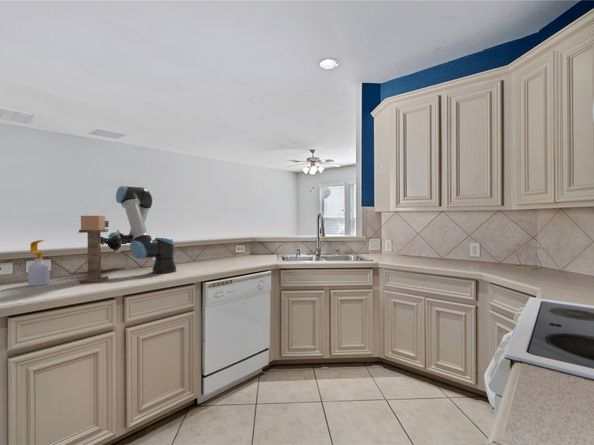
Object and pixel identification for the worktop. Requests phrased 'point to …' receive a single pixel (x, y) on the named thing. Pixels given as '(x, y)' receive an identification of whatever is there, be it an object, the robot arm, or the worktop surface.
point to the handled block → (93, 223)
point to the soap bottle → (38, 268)
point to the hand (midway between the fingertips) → (105, 231)
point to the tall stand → (94, 257)
